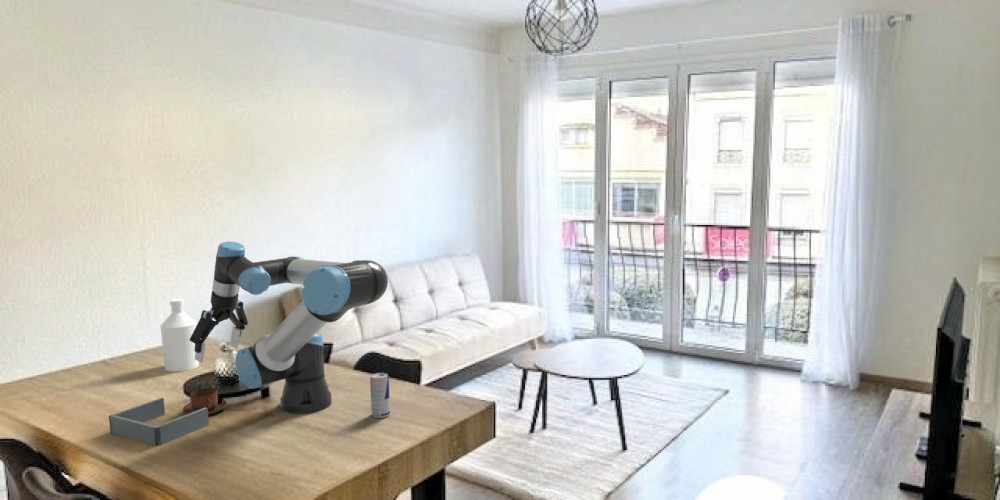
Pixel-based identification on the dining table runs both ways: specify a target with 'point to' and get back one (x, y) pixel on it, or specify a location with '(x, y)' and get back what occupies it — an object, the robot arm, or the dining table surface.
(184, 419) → the box
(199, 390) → the cup and saucer
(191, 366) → the bottle
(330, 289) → the robot arm
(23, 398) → the dining table surface
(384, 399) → the energy drink
